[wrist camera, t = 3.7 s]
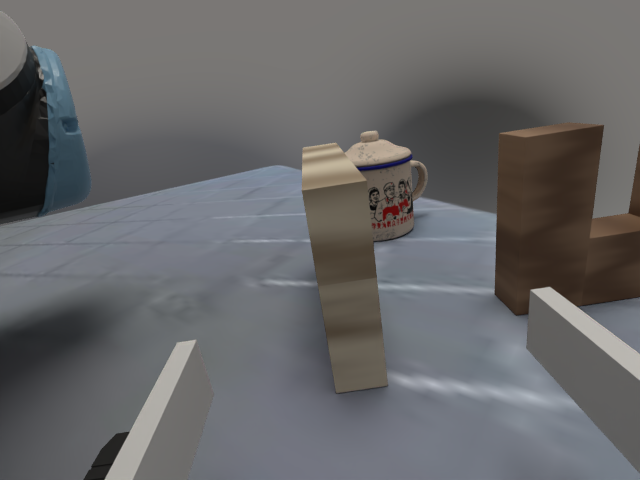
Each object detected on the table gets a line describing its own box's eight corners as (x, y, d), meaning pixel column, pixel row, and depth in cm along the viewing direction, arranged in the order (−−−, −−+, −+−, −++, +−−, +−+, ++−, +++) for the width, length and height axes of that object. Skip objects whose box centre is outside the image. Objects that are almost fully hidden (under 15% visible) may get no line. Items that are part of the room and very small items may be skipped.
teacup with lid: (364, 250, 39) (352, 140, 35) (329, 229, 47) (316, 138, 43) (452, 222, 43) (450, 120, 39) (406, 207, 51) (400, 121, 47)
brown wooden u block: (516, 315, 25) (525, 137, 21) (494, 294, 28) (499, 133, 24) (719, 284, 25) (771, 99, 21) (677, 266, 28) (715, 99, 23)
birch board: (387, 385, 21) (366, 180, 17) (336, 393, 21) (301, 190, 17) (351, 263, 37) (335, 142, 32) (322, 267, 37) (302, 147, 32)
